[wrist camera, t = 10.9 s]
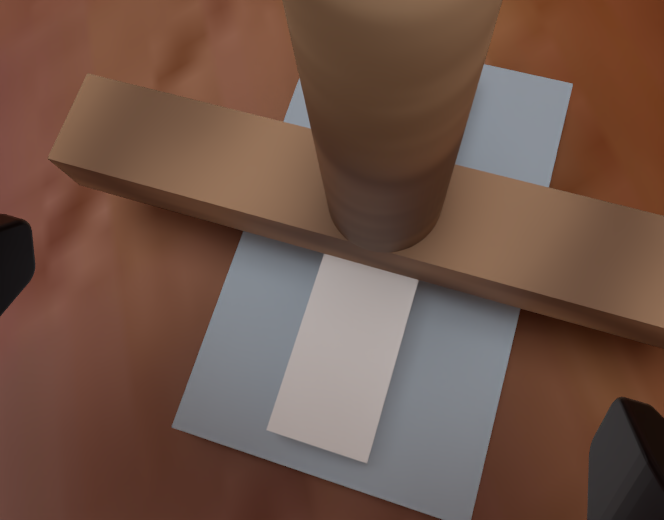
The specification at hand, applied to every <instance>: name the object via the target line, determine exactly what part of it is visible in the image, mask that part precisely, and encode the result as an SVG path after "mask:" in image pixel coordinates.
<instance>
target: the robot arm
mask: <svg viewBox="0 0 664 520" xmlns="http://www.w3.org/2000/svg"><path fill="white" fill-rule="evenodd" d="M34 271H35V257H34V247H33V237H32V230H31V227H30V225H29V223H28V222H27V221H25V220H23V219H20V218H16V217H13V216H10V215H6V214H0V316H1V315H2V314H3V312H4V311H5V310H6V309H7V308H8V307H9V305H10V304H11V303H12V302H13V301H14V299H15V298H16V297H17V296H18V295H19V294H20V292H21V291H22V290H23V289H24V288H25V286H26V285H27V284H28V283H29V282H30V280H31V279H32V277H33V274H34ZM587 520H664V418H663V417H662V416H661V415H660V414H659V413H658V412H657V411H656V410H655V409H654V408H653V407H652V406H651V405H649V404H646V403H643V402H639V401H636V400H632V399H629V398H626V397H619V398H617V399H616V400H615V401H614V402H613V403H612V405H611V407H610V408H609V410H608V412H607V414H606V416H605V418H604V419H603V421H602V423H601V425H600V427H599V429H598V431H597V432H596V434H595V436H594V438H593V440H592V443H591V447H590V452H589V478H588V513H587Z"/></svg>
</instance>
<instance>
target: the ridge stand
mask: <svg viewBox="0 0 664 520" xmlns="http://www.w3.org/2000/svg"><path fill="white" fill-rule="evenodd" d="M572 86H573V84H572V83H567V82H562V81H558V80H553V79H549V78H544V77H540V76H535V75H531V74H526V73H522V72H517V71H512V70H508V69H503V68H499V67H494V66H490V65H485V64H484V65H483V69H482V72H481V76H480V79H479V83H478V86H477V90H476V93H475V97H474V100H473V104H472V107H471V110H470V114H469V117H468V121H467V124H466V128H465V131H464V135H463V138H462V142H461V145H460V149H459V152H458V155H457V159H456V162H455V164H456V165H460V166H464V167H468V168H472V169H476V170H480V171H484V172H488V173H492V174H496V175H500V176H504V177H508V178H512V179H516V180H521V181H525V182H529V183H533V184H537V185H541V186H545V187H549V184H550V180H551V176H552V171H553V167H554V163H555V159H556V154H557V150H558V146H559V142H560V137H561V133H562V129H563V124H564V120H565V116H566V112H567V107H568V103H569V99H570V95H571V90H572ZM284 122H286V123H290V124H294V125H298V126H302V127H306V128H310V129H311V127H310V122H309V118H308V113H307V109H306V104H305V100H304V95H303V91H302V86H301V82H300V78H299V81H298V83H297V86H296V89H295V92H294V94H293V97H292V100H291V102H290V105H289V108H288V111H287V113H286V116H285V119H284ZM519 312H520V308H517V307H513V306H510V305H506V304H503V303H499V302H495V301H492V300H488V299H485V298H481V297H478V296H474V295H470V294H467V293H463V292H460V291H456V290H453V289H449V288H445V287H442V286H438V285H435V284H431V283H428V282H424V281H420V280H417V279H413V278H410V277H406V276H403V275H399V274H395V273H392V272H388V271H385V270H381V269H378V268H374V267H370V266H367V265H363V264H360V263H356V262H353V261H349V260H345V259H342V258H338V257H335V256H331V255H328V254H324V253H320V252H317V251H313V250H310V249H306V248H303V247H299V246H295V245H292V244H288V243H285V242H281V241H278V240H274V239H270V238H267V237H263V236H260V235H256V234H253V233H249V232H245V231H243V233H242V236H241V239H240V242H239V244H238V247H237V250H236V252H235V255H234V258H233V261H232V263H231V266H230V269H229V272H228V274H227V277H226V280H225V282H224V285H223V288H222V291H221V293H220V296H219V299H218V302H217V304H216V307H215V310H214V312H213V315H212V318H211V321H210V323H209V326H208V329H207V332H206V334H205V337H204V340H203V342H202V345H201V348H200V351H199V353H198V356H197V359H196V362H195V364H194V367H193V370H192V372H191V375H190V378H189V381H188V383H187V386H186V389H185V392H184V394H183V397H182V400H181V402H180V405H179V408H178V411H177V413H176V416H175V419H174V422H173V424H172V428H175V429H178V430H181V431H184V432H187V433H190V434H193V435H195V436H198V437H201V438H204V439H207V440H210V441H213V442H216V443H219V444H222V445H225V446H228V447H231V448H234V449H237V450H240V451H243V452H245V453H248V454H251V455H254V456H257V457H260V458H263V459H266V460H269V461H272V462H275V463H278V464H281V465H284V466H287V467H290V468H292V469H295V470H298V471H301V472H304V473H307V474H310V475H313V476H316V477H319V478H322V479H325V480H328V481H331V482H334V483H337V484H340V485H342V486H345V487H348V488H351V489H354V490H357V491H360V492H363V493H366V494H369V495H372V496H375V497H378V498H381V499H384V500H387V501H390V502H392V503H395V504H398V505H401V506H404V507H407V508H410V509H413V510H416V511H419V512H422V513H425V514H428V515H431V516H434V517H437V518H439V519H442V520H471V517H472V513H473V509H474V505H475V500H476V496H477V492H478V487H479V483H480V479H481V475H482V470H483V466H484V462H485V458H486V453H487V449H488V445H489V441H490V436H491V432H492V428H493V423H494V419H495V415H496V411H497V406H498V402H499V398H500V394H501V389H502V385H503V381H504V376H505V372H506V368H507V364H508V359H509V355H510V351H511V347H512V342H513V338H514V334H515V329H516V325H517V321H518V317H519Z"/></svg>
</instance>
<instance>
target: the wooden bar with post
mask: <svg viewBox="0 0 664 520" xmlns="http://www.w3.org/2000/svg"><path fill="white" fill-rule="evenodd" d="M501 3H502V0H283V5H284V10H285V14H286V19H287V23H288V28H289V32H290V37H291V41H292V46H293V50H294V55H295V59H296V64H297V68H298V73H299V77H300V82H301V86H302V91H303V95H304V100H305V104H306V109H307V113H308V118H309V122H310V127H311V129H310V128H306V127H302V126H298V125H294V124H290V123H286V122H282V121H278V120H274V119H270V118H266V117H262V116H258V115H254V114H250V113H246V112H242V111H238V110H234V109H230V108H226V107H222V106H218V105H213V104H209V103H205V102H201V101H197V100H193V99H189V98H185V97H181V96H177V95H173V94H169V93H165V92H161V91H157V90H153V89H149V88H145V87H141V86H137V85H133V84H129V83H125V82H121V81H117V80H113V79H108V78H104V77H100V76H96V75H92V74H88V73H87V75H86V77H85V80H84V82H83V84H82V86H81V88H80V90H79V92H78V94H77V97H76V99H75V101H74V103H73V105H72V107H71V109H70V111H69V114H68V116H67V118H66V120H65V122H64V124H63V126H62V128H61V131H60V133H59V135H58V137H57V139H56V141H55V143H54V145H53V148H52V150H51V152H50V154H49V156H48V158H47V159H49V160H50V161H51V162H52V163H53V164H55V165H56V166H57V167H58V168H60V169H61V170H62V171H63V172H64V173H66V174H67V175H68V176H69V177H70V178H72V179H73V180H74V181H75V182H77V183H78V184H79V185H81V186H85V187H88V188H92V189H95V190H99V191H103V192H106V193H110V194H113V195H117V196H120V197H124V198H128V199H131V200H135V201H138V202H142V203H145V204H149V205H153V206H156V207H160V208H163V209H167V210H170V211H174V212H178V213H181V214H185V215H188V216H192V217H195V218H199V219H203V220H206V221H210V222H213V223H217V224H220V225H224V226H228V227H231V228H235V229H238V230H242V231H245V232H249V233H253V234H256V235H260V236H263V237H267V238H270V239H274V240H278V241H281V242H285V243H288V244H292V245H295V246H299V247H303V248H306V249H310V250H313V251H317V252H320V253H324V254H328V255H331V256H335V257H338V258H342V259H345V260H349V261H353V262H356V263H360V264H363V265H367V266H370V267H374V268H378V269H381V270H385V271H388V272H392V273H395V274H399V275H403V276H406V277H410V278H413V279H417V280H420V281H424V282H428V283H431V284H435V285H438V286H442V287H445V288H449V289H453V290H456V291H460V292H463V293H467V294H470V295H474V296H478V297H481V298H485V299H488V300H492V301H495V302H499V303H503V304H506V305H510V306H513V307H517V308H520V309H524V310H528V311H531V312H535V313H538V314H542V315H545V316H549V317H553V318H556V319H560V320H563V321H567V322H570V323H574V324H578V325H581V326H585V327H588V328H592V329H595V330H599V331H603V332H606V333H610V334H613V335H617V336H620V337H624V338H628V339H631V340H635V341H638V342H642V343H645V344H649V345H653V346H656V347H660V348H663V349H664V216H662V215H658V214H654V213H650V212H646V211H642V210H638V209H634V208H630V207H626V206H622V205H617V204H613V203H609V202H605V201H601V200H597V199H593V198H589V197H585V196H581V195H577V194H573V193H569V192H565V191H561V190H557V189H553V188H549V187H545V186H541V185H537V184H533V183H529V182H525V181H521V180H516V179H512V178H508V177H504V176H500V175H496V174H492V173H488V172H484V171H480V170H476V169H472V168H468V167H464V166H460V165H456V164H455V162H456V159H457V155H458V152H459V149H460V145H461V142H462V138H463V135H464V131H465V128H466V124H467V121H468V117H469V114H470V110H471V107H472V104H473V100H474V97H475V93H476V90H477V86H478V83H479V79H480V76H481V72H482V69H483V65H484V62H485V59H486V55H487V52H488V48H489V45H490V41H491V38H492V34H493V31H494V27H495V24H496V20H497V17H498V14H499V10H500V7H501Z"/></svg>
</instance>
